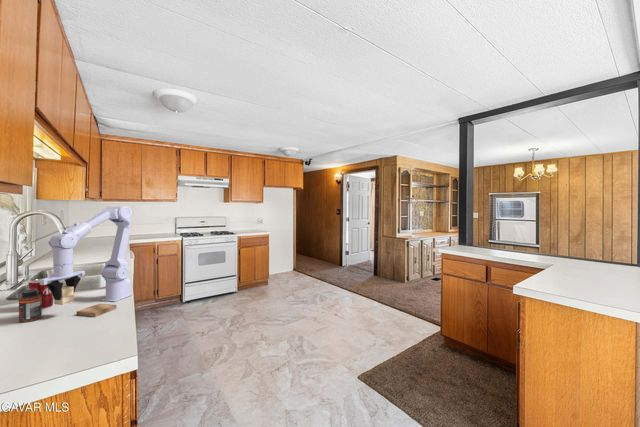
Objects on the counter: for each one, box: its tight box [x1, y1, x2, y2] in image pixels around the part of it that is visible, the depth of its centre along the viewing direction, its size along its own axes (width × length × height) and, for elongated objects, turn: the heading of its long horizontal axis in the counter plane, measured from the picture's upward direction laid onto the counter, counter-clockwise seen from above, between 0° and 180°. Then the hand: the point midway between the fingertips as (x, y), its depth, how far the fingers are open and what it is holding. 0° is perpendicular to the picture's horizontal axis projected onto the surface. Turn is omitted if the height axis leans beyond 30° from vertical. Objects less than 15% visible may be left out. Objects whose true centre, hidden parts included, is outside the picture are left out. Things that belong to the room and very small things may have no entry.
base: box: [76, 303, 117, 318], centre depth 110 cm, size 9×9×2 cm
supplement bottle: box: [18, 289, 43, 323], centre depth 102 cm, size 6×6×11 cm
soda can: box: [27, 278, 54, 311], centre depth 114 cm, size 7×7×12 cm
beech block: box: [53, 285, 75, 306], centre depth 105 cm, size 4×4×6 cm
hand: (64, 297), depth 105 cm, fingers closed on beech block, 4 cm apart
